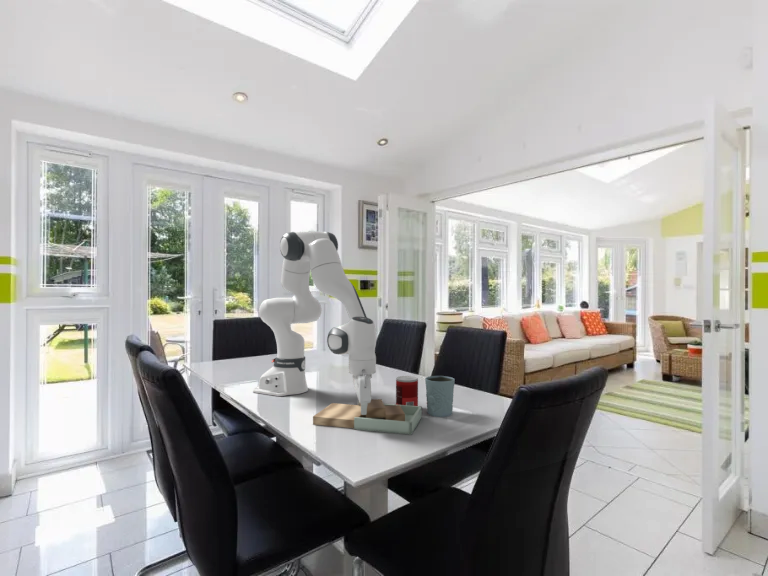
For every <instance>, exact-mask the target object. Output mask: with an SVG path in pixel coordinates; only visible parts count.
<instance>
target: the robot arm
mask: <svg viewBox="0 0 768 576" xmlns="http://www.w3.org/2000/svg"><path fill="white" fill-rule="evenodd" d="M279 250H280V254H281V256H282V257H283V261H282V266H281V276H280V285H281V286H282V288H283V289H284V290H285V291H286V292H288V293H290V294H291V295H293V296H291V297H273V298H268V299H264V300H262V302H261V304H260V305H259V309H258V314H259V317H260V319H261V321H262V322H263V323H265V324H266V325H267V326H268V327H270V329H271V331H272V332H273V333H274V337H275V339H276V340H275V341H276V349H277V350H276V351H277V357H275V358H272V360H271V363H273V365H272V367H270V368H268V370H266V371H265V372H264V373H262V375H261V376H260V378H259V381H258V386H255V387H254V388H253V389H252V392H253V393H255V394H263V395H269V396H277V397H283V396H284V397H285V396H290V395H300V394H303V393H306V392H308V391H309V387H308V385H307V380H306V379H307V378H306V367H307V365H306V356H305V339H304V337H303V335H302V334H300V333H298V332H296V331H294V330H293V329H292V328H291V325H293V324H296V325H297V324H309V323H313V322H314V323H315V322H317V321H318V320H319V319H320V317H321V315H322V311H323V310H322V306H321V303H320V302H319V300H318V299H317V298H315V297H314V296H313V294H312V293H311V290H310V276H311V277H312V281H313V284H314V286H315V288H316V289H317V290H318V291H320V292H321V293H323V294H325V295H328V296H330V297H333V298H334V299H336V300H338V301H340V302H341V303H342V304H343V305H344V308H345V310H346V312H347V315H348V318H349V321H347V322H345V323H343V324H340V325H338V326H335V327H332V328H331V329H330V330H329V332H328V333H327V339H326V344H327V348H328V349H329V350H330V352H331V353H333V354H334V355H339V356H341V355H348V373H349V374H350V375H352V379H353V381H352V382H353V388H354V391H355V394H356V396H357V405H358V406H361V415H366V414H367V405H368V403H370V402H371V399H372V381H371V379H372V378H373V375H374V374H376V372H377V356H376V353H375V352H376V346H377V335H376V334H377V332H376V331H377V330H376V325H375V322H374V321H373V319H371V318H369V317H368V316H367V314H366V312H365V309H364V307H363V303H362V301H361V299H360V297H359V294H358V292H357V290H356V288H355V286H354V285H353V283H352V282H351V281H350V280H349V278H348V276H347V275H346V273H345V270H344V268H343V264H342V261H341V258H340V255H339V252H338V250H339V242H338V238H337V237H336V235H335V234H334V233H333V232H332V233H331V232H328V231H316V230H308V231H297V232H295V231H292V232H287V233H284V234H283V235H282V237H281V238H280V242H279Z"/></svg>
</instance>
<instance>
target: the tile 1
mask: <svg viewBox="0 0 768 576" xmlns="http://www.w3.org/2000/svg"><path fill="white" fill-rule="evenodd" d="M384 404H385V403H384V402H383V400H382V398H379V399H378V398H373V399H372V398H371V402H370V403H368V405H367V414H366V418H378V417H385V406H384Z"/></svg>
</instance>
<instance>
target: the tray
mask: <svg viewBox="0 0 768 576" xmlns="http://www.w3.org/2000/svg"><path fill="white" fill-rule="evenodd" d="M383 404H384V406H391V405H396V403H395V404H394V403H392V404H391V403H383ZM400 407H401V408H402V410H403V412H404V413H405V421H395V420H384V419H383V417H378V418H366V416H365V417H364V418H360V417H355V418H354V428H353V429H354V430H358V431H369V432H381V433H389V434H401V435H409V436H410V435H411V436H412V435H413V433H414V431H415V429H416V428H417V426H418V425H419V422H420V421H421V419H422V417H423V412H422V411H423V407H422V406H420V405H418V406H408V405H400Z"/></svg>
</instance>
